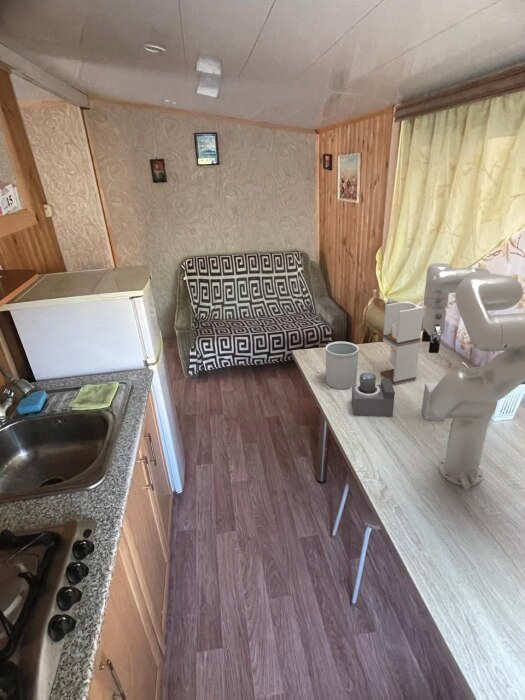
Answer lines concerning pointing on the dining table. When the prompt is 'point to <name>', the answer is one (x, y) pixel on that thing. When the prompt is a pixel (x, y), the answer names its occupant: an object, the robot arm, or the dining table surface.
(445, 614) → the dining table surface
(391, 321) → the slotted white tower
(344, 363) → the utensil holder
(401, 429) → the dining table surface
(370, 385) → the lens
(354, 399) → the camera body
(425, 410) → the supplement box
